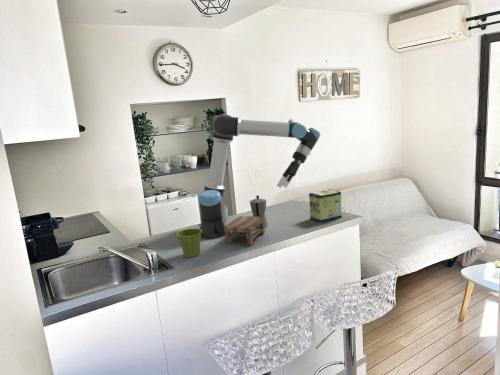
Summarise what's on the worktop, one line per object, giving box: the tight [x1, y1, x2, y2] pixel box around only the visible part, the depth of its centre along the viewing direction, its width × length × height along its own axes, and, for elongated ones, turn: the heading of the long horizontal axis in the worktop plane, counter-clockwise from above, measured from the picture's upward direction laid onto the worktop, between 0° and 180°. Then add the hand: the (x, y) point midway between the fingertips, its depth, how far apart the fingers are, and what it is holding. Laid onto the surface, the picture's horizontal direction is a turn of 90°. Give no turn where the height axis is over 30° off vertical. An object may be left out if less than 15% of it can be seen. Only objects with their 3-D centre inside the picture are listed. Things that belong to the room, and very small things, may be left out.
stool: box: [224, 215, 266, 247], centre depth 195 cm, size 14×20×9 cm
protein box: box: [308, 188, 343, 223], centre depth 219 cm, size 10×16×16 cm
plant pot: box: [175, 227, 202, 258], centre depth 177 cm, size 12×12×11 cm
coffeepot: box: [249, 195, 269, 230], centre depth 212 cm, size 15×9×18 cm, turn 175°
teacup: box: [222, 205, 229, 222], centre depth 233 cm, size 14×11×8 cm
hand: (281, 186), depth 208 cm, fingers open, 13 cm apart
